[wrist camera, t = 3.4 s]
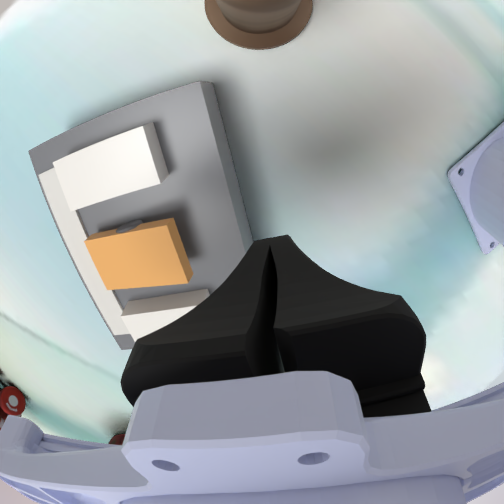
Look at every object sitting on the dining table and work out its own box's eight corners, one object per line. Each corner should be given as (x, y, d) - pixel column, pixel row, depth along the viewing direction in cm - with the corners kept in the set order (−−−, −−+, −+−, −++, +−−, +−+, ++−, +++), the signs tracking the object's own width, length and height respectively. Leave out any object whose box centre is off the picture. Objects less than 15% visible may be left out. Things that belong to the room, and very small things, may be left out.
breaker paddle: (178, 211, 15) (166, 225, 13) (197, 266, 16) (188, 283, 15) (99, 228, 16) (83, 241, 15) (119, 274, 17) (107, 290, 16)
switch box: (212, 82, 16) (193, 80, 11) (266, 293, 22) (267, 349, 17) (65, 136, 17) (12, 157, 12) (137, 313, 23) (115, 364, 19)
